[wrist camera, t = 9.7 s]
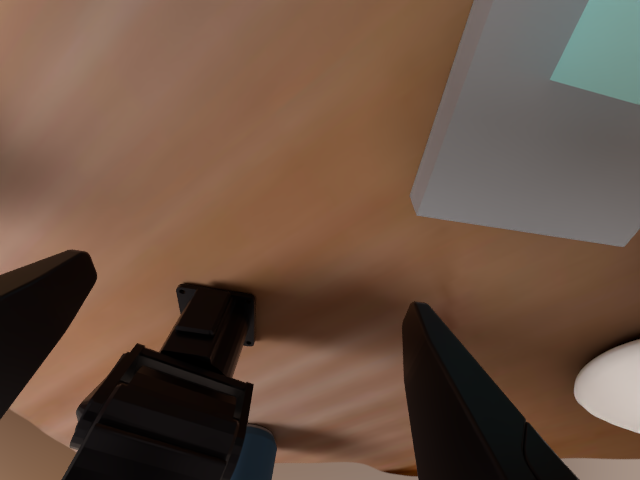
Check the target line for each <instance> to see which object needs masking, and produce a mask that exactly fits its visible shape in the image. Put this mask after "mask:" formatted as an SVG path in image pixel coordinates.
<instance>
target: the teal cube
mask: <svg viewBox="0 0 640 480" xmlns="http://www.w3.org/2000/svg"><path fill="white" fill-rule="evenodd" d="M550 80H552V81H556V82H559V83H563V84H566V85H570V86H573V87H577V88H581V89H584V90H588V91H591V92H595V93H598V94H602V95H606V96H609V97H613V98H616V99H620V100H623V101H627V102H631V103H634V104H638V105H640V0H589V1H588V3H587V5H586V7H585V9H584V11H583V13H582V15H581V17H580V19H579V21H578V23H577V25H576V27H575V29H574V31H573V33H572V36H571V38H570V40H569V42H568V44H567V46H566V48H565V50H564V52H563V54H562V56H561V58H560V60H559V62H558V64H557V66H556V68H555V70H554V72H553V74H552V76H551V78H550Z"/></svg>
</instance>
